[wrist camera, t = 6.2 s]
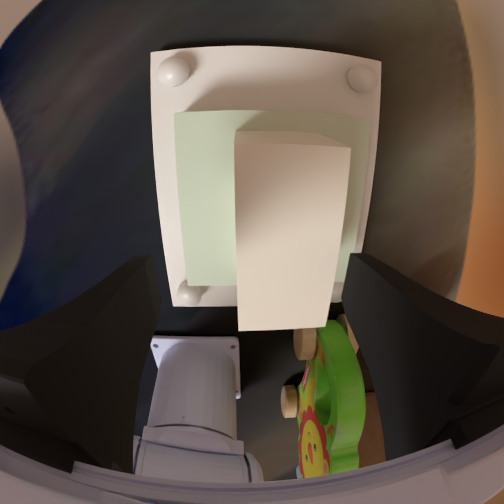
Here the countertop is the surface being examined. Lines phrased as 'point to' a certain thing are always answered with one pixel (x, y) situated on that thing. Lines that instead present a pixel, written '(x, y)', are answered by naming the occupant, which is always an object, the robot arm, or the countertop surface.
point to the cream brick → (287, 226)
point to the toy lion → (327, 399)
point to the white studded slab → (222, 147)
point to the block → (371, 435)
